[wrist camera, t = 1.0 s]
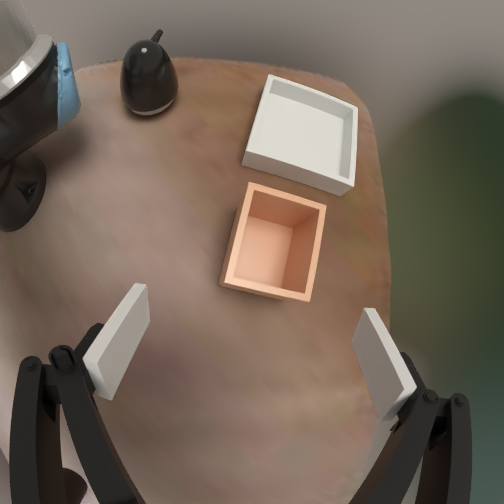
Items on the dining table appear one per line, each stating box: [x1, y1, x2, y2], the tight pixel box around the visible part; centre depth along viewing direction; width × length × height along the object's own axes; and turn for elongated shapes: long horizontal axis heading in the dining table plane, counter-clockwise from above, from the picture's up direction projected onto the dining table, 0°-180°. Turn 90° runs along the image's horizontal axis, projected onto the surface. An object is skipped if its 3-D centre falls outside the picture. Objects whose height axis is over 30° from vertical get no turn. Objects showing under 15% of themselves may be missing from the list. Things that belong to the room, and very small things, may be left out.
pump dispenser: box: [120, 30, 178, 115], centre depth 35 cm, size 10×10×15 cm
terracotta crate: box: [218, 182, 326, 302], centre depth 37 cm, size 10×12×11 cm
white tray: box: [241, 75, 358, 196], centre depth 44 cm, size 18×18×5 cm
